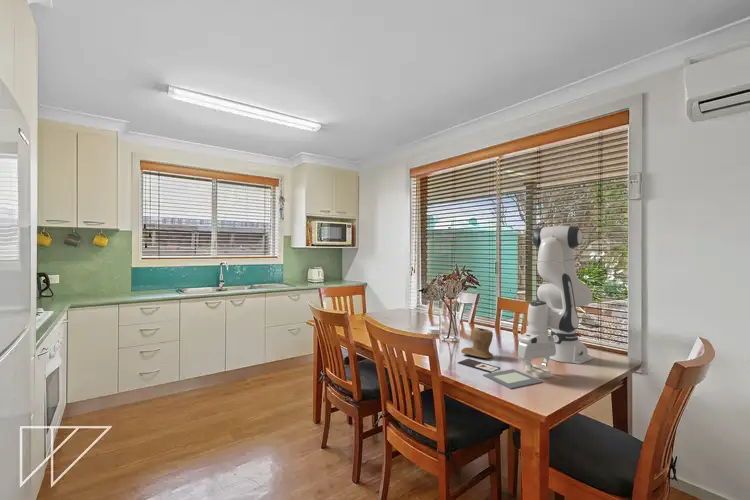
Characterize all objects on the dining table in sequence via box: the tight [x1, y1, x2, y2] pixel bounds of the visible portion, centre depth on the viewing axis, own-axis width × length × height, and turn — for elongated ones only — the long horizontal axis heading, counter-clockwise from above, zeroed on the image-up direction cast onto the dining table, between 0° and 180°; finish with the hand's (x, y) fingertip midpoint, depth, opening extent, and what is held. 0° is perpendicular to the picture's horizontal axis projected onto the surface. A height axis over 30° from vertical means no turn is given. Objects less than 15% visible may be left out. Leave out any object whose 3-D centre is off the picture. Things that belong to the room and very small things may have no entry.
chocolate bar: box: [457, 358, 501, 374], centre depth 177 cm, size 9×1×18 cm
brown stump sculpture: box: [461, 327, 494, 359], centre depth 193 cm, size 15×12×15 cm
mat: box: [482, 368, 544, 390], centre depth 160 cm, size 18×17×1 cm
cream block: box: [523, 363, 552, 380], centre depth 166 cm, size 10×6×3 cm, turn 22°
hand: (537, 367), depth 165 cm, fingers open, 8 cm apart
